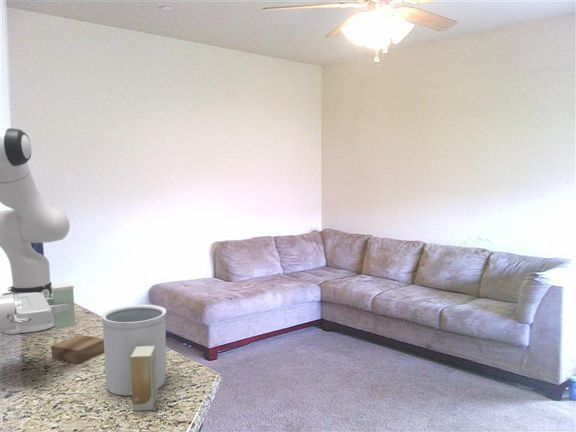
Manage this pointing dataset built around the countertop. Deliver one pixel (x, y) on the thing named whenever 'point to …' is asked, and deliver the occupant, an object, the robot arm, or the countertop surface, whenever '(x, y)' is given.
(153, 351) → the skincare box
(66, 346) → the walnut block
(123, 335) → the utensil holder
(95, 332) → the countertop surface
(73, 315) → the canister
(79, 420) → the countertop surface
